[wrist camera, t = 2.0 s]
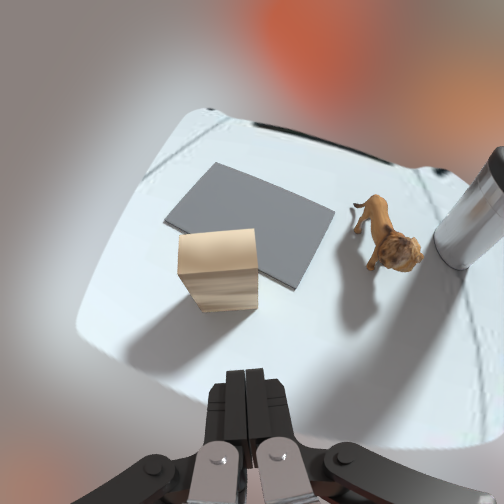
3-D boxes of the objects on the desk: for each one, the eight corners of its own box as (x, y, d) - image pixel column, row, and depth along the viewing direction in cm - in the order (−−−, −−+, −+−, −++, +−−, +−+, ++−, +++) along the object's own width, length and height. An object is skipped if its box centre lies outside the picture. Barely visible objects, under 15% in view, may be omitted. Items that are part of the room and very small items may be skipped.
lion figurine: (404, 283, 35) (436, 254, 27) (375, 294, 34) (405, 265, 26) (365, 203, 42) (383, 164, 34) (337, 208, 41) (352, 168, 33)
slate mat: (216, 163, 46) (215, 162, 46) (334, 213, 40) (335, 211, 40) (165, 220, 40) (164, 219, 40) (296, 289, 35) (296, 288, 34)
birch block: (202, 283, 36) (179, 234, 25) (255, 279, 36) (254, 228, 25) (202, 312, 34) (177, 274, 23) (258, 308, 34) (258, 267, 23)
